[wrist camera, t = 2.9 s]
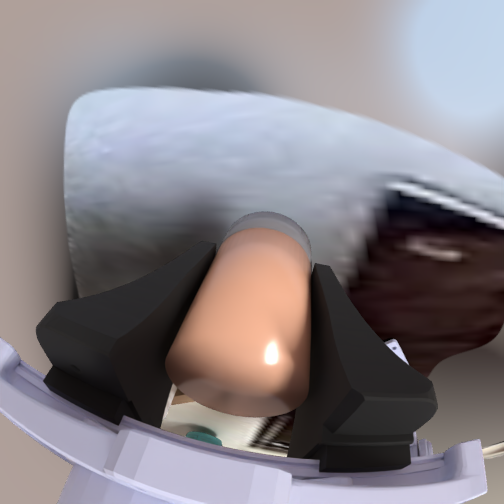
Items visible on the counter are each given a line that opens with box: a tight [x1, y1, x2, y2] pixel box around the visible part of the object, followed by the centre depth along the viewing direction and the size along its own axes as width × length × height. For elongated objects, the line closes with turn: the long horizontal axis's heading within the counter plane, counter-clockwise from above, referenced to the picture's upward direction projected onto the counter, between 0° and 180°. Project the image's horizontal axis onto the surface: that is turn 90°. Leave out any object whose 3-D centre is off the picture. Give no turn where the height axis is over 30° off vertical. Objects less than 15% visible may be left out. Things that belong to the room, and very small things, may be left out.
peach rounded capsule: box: [165, 212, 312, 417], centre depth 10 cm, size 4×4×7 cm
